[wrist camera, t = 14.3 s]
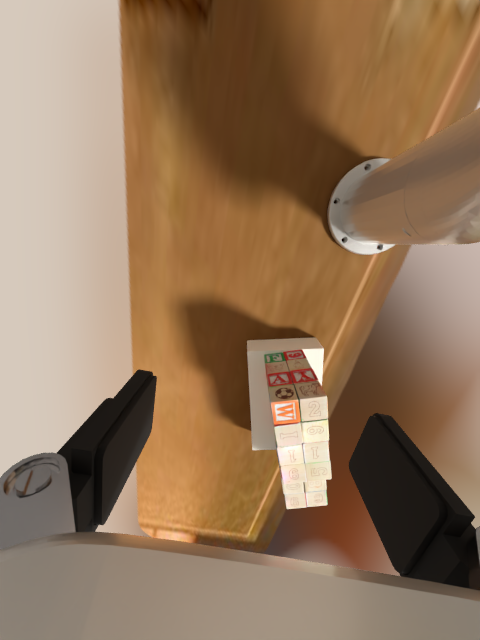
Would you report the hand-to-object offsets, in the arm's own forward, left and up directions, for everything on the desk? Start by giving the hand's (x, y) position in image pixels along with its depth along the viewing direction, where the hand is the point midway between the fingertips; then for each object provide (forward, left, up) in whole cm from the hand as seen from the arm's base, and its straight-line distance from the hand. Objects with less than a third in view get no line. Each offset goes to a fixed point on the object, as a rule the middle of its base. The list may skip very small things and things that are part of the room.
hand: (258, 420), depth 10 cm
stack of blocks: (-11, +18, -26) cm, 33 cm away
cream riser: (-10, +17, -31) cm, 37 cm away
